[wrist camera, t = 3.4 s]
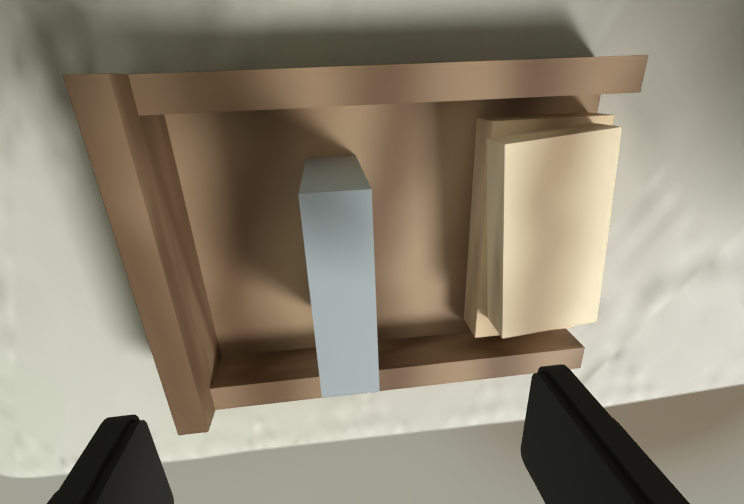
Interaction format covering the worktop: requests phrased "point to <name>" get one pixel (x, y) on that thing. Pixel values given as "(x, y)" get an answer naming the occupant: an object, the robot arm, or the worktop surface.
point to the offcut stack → (539, 221)
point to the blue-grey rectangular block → (341, 273)
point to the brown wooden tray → (283, 217)
